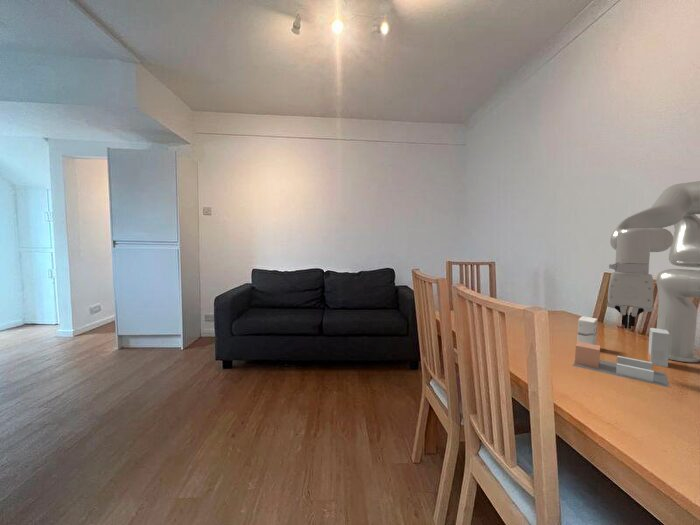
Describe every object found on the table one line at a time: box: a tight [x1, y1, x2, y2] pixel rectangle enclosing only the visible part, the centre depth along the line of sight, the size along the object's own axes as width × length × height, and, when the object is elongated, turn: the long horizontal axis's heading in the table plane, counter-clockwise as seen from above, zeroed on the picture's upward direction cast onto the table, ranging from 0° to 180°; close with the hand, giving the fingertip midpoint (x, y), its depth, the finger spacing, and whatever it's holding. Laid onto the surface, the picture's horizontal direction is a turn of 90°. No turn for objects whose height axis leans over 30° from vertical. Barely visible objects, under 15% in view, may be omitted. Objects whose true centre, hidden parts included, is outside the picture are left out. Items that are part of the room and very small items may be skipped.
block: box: [574, 341, 601, 368], centre depth 100 cm, size 6×6×6 cm
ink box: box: [576, 315, 599, 345], centre depth 116 cm, size 9×5×12 cm, turn 133°
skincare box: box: [647, 327, 670, 368], centre depth 100 cm, size 6×4×12 cm
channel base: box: [572, 355, 671, 388], centre depth 95 cm, size 12×22×4 cm, turn 47°
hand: (627, 327), depth 93 cm, fingers closed
